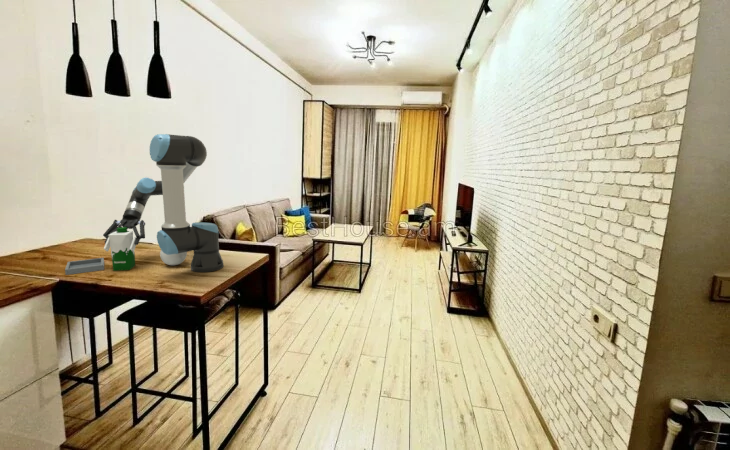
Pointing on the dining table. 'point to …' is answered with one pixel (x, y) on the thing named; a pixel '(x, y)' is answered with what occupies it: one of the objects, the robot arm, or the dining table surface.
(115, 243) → the soya milk
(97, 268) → the holder tray
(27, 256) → the dining table surface
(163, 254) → the decorative ball
